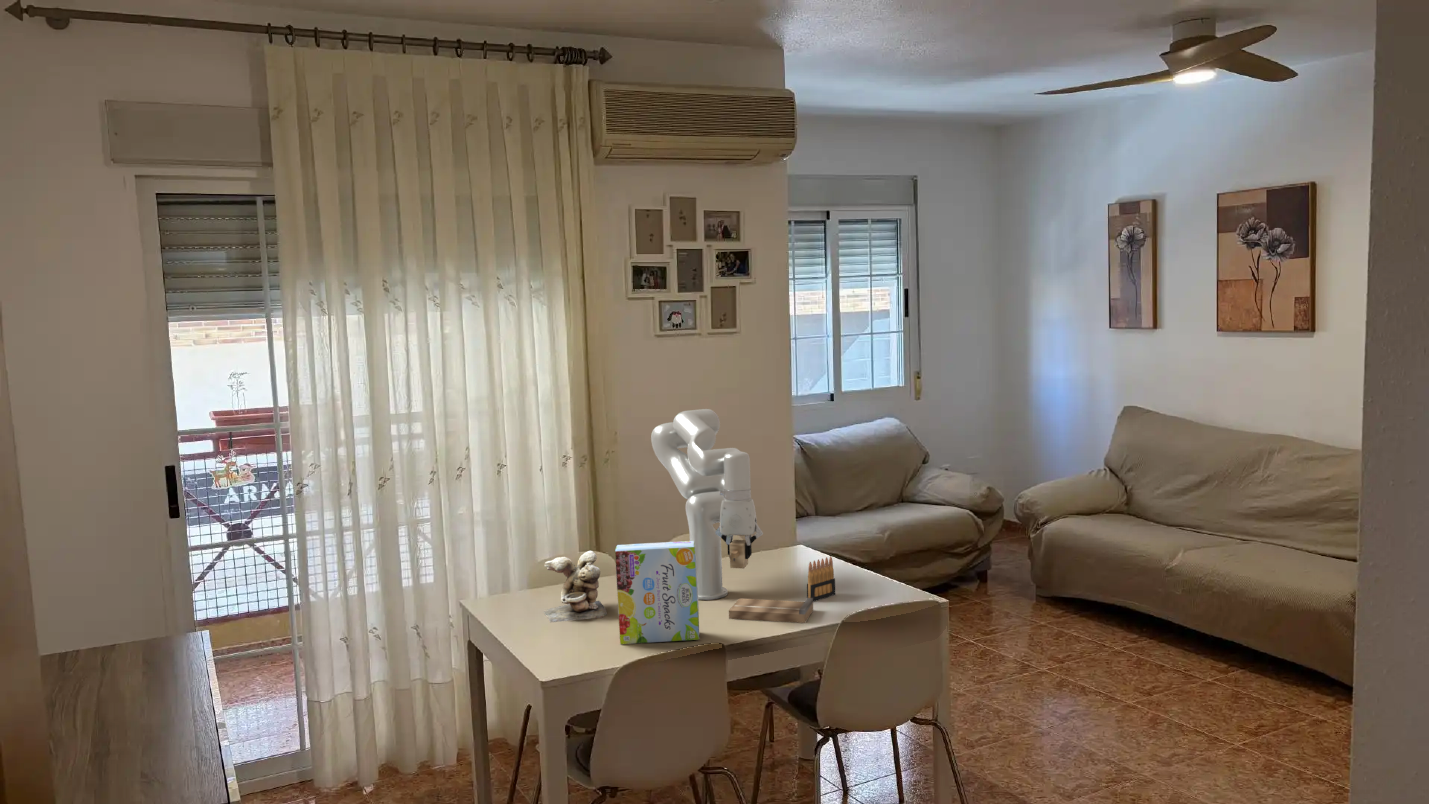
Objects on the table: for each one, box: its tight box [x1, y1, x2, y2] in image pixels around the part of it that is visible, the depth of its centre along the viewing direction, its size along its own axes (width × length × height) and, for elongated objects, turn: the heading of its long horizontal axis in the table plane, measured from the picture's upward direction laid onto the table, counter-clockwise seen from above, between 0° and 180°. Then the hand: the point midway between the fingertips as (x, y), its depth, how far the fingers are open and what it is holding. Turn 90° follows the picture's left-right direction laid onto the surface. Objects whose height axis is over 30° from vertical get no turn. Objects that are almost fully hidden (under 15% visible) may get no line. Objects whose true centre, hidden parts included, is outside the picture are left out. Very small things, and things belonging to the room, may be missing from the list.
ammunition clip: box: [806, 556, 837, 602], centre depth 321 cm, size 11×2×12 cm, turn 131°
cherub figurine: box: [542, 550, 608, 623], centre depth 314 cm, size 18×18×18 cm
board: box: [728, 597, 814, 624], centre depth 307 cm, size 22×12×4 cm, turn 74°
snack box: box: [614, 540, 700, 645], centre depth 288 cm, size 22×9×26 cm, turn 93°
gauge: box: [729, 539, 749, 570], centre depth 306 cm, size 4×11×7 cm, turn 164°
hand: (739, 557), depth 307 cm, fingers closed on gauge, 4 cm apart
